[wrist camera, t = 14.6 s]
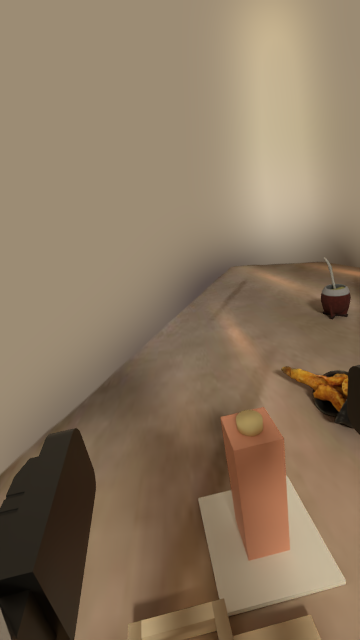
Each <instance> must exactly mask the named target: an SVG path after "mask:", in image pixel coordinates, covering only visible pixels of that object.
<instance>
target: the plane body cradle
mask: <svg viewBox="0 0 360 640" xmlns="http://www.w3.org/2000/svg"><path fill="white" fill-rule="evenodd" d="M214 631H217V634H218V639H219V640H233V638H234V640H321V638H320V635H319V633H318V631H317V628H316V626H315V624H314V621H313V619H312V617H311V614H310V615H307V616H303V617H300V618H296V619H293V620H289V621H285V622H282V623H278V624H275V625H271V626H267V627H264V628H260V629H257V630H253V631H249V632H246V633H242V634H239V635H235V636H233V635H232V631H231V626H230V622H229V617H228V613H227V609H226V604H225V600H224V598H223V599H219V600H216V601H212V602H208V603H204V604H201V605H197V606H193V607H190V608H186V609H182V610H178V611H175V612H171V613H167V614H164V615H160V616H156V617H153V618H149V619H145V620H141V621H138V622H134V623H130V624H128V640H185V639H189V638H192V637H196V636H200V635H203V634H207V633H210V632H214Z"/></svg>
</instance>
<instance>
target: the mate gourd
mask: <svg viewBox="0 0 360 640" xmlns="http://www.w3.org/2000/svg"><path fill="white" fill-rule="evenodd" d="M324 259H325V261H326V262H327V264H328V266H329V267H328V268H329V270H330V274H331V279H332V285H327V286H326V287H325V288H324V289H323V290H322V294H321V302H322V306H323V309H324V312H323V314H328V315H331V316H330V317H329V318H330V319H333V318H334V317H335V316H344V317H347V316H348V314H347V311H348V309H349V304H350V298H351V297H350V291H349V289H348V287H347V286H345V285H342V284H335V282H334V278H333V273H332V266H331V265H330V263H329V262H328V260H327V259H326V258H325V257H324Z"/></svg>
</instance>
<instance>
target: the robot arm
mask: <svg viewBox="0 0 360 640" xmlns="http://www.w3.org/2000/svg"><path fill="white" fill-rule="evenodd" d="M347 414H348V418H349V420H350V422H351V424H352V426H353V428H354V429H355V430H356V431H357V432H358V433H359V434H360V365H357V366H353V367H351V368H350V369H349V372H348V391H347ZM95 491H96V481H95V474H94V469H93V466H92V463H91V461H90V458H89V455H88V452H87V450H86V447H85V444H84V441H83V439H82V436H81V433H80V431H79V430H78V429H77V428H75V429H70V430H66V431H61V432H57V433H53V434H49V435H48V436H47V437H46V439H45V442H44V444H43V447H42V450H41V452H40V455H39V457H34V458H30V459H29V460H28V461H27V463H26V464H25V465H24V466H23V467H22V468H21V470H20V471H19V472H18V473H17V474H16V476H15V477H14V479H13V481H12V484H11V486H10V488H9V490H8V492H7V495H6V500H4V501H3V504H2V506H1V508H0V640H74V637H75V630H76V623H77V616H78V610H79V603H80V596H81V589H82V582H83V575H84V568H85V561H86V554H87V547H88V540H89V533H90V526H91V519H92V513H93V506H94V499H95Z"/></svg>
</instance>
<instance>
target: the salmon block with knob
mask: <svg viewBox="0 0 360 640" xmlns="http://www.w3.org/2000/svg"><path fill="white" fill-rule="evenodd" d="M221 424H222V431H223V438H224V444H225V451H226V458H227V465H228V471H229V478H230V485H231V492H232V498H233V505H234V512H235V519H236V522H237V525H238V529H239V532H240V535H241V538H242V541H243V544H244V548H245V551H246V554H247V557H248V560H249V561H250V560H254V559H258V558H262V557H265V556H269V555H273V554H277V553H281V552H285V551H288V550H290V538H289V521H288V503H287V485H286V467H285V449H284V438H283V436H282V435H281V433H280V432H279V430H278V429H277V427H276V425H275V424H274V422H273V421H272V419H271V418H270V416H269V414H268V413H267V411H266V410H265V408H264V407H262V408H258V409H253V410H244V411H242V412H240V413H236V414H231V415H227V416H223V417H221Z"/></svg>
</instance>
